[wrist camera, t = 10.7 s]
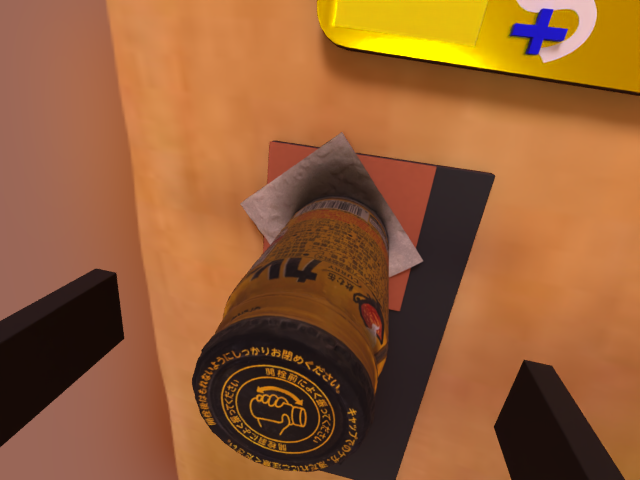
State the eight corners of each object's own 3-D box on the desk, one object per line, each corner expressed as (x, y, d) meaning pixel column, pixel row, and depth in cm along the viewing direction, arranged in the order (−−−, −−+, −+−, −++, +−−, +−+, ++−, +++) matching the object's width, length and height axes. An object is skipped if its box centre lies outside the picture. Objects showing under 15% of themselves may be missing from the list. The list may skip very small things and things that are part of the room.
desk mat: (392, 482, 28) (392, 492, 27) (254, 446, 30) (251, 455, 29) (492, 173, 18) (497, 176, 17) (273, 140, 19) (269, 141, 19)
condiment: (320, 309, 22) (255, 515, 11) (241, 202, 20) (68, 322, 9) (423, 259, 19) (470, 461, 9) (342, 131, 18) (271, 179, 7)
